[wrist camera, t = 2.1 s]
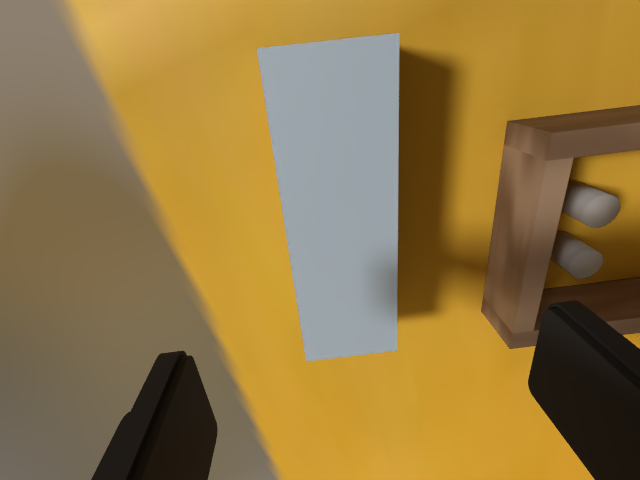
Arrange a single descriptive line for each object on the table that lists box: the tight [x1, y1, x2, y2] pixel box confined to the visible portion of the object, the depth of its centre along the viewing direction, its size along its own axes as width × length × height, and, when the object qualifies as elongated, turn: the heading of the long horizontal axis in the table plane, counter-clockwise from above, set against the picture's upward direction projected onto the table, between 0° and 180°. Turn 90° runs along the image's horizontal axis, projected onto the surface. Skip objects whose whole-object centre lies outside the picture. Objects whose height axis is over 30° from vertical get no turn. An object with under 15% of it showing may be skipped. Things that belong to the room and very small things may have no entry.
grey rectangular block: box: [257, 33, 399, 361], centre depth 17 cm, size 15×5×4 cm, turn 6°
